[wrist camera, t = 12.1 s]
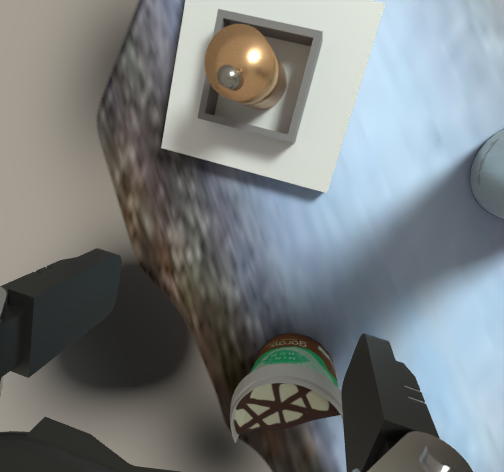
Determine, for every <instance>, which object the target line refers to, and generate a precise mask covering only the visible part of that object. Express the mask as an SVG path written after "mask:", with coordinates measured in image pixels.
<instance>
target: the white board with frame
mask: <svg viewBox="0 0 504 472" xmlns="http://www.w3.org/2000/svg"><path fill="white" fill-rule="evenodd" d="M385 4H386V3H381V2H376V1H371V0H185V6H184V12H183V19H182V25H181V31H180V37H179V43H178V49H177V55H176V61H175V67H174V73H173V79H172V85H171V91H170V98H169V104H168V110H167V116H166V122H165V128H164V134H163V140H162V146H161V148H163V149H167V150H171V151H174V152H178V153H182V154H185V155H189V156H193V157H196V158H200V159H204V160H207V161H211V162H215V163H218V164H222V165H226V166H229V167H233V168H237V169H240V170H244V171H248V172H251V173H255V174H259V175H262V176H266V177H270V178H273V179H277V180H281V181H284V182H288V183H292V184H295V185H299V186H303V187H306V188H310V189H314V190H317V191H321V192H325V193H327V191H328V188H329V185H330V181H331V178H332V175H333V172H334V169H335V165H336V162H337V159H338V156H339V152H340V149H341V146H342V143H343V140H344V136H345V133H346V130H347V127H348V123H349V120H350V117H351V114H352V111H353V107H354V104H355V101H356V98H357V94H358V91H359V88H360V85H361V82H362V78H363V75H364V72H365V69H366V65H367V62H368V59H369V56H370V53H371V49H372V46H373V43H374V40H375V36H376V33H377V30H378V27H379V24H380V20H381V17H382V14H383V11H384V7H385ZM233 24H245V25H249V26H251V27H254V28H255V29H257V30H258V31H259V32H260V33H261V34H262V35H263V36H264V37H265V39H266V40H267V42H268V43H269V45H270V46H271V48H272V50H273V51H274V53H275V54H276V56H277V57H278V59H279V60H280V62H281V63H282V65H283V67H284V69H285V72H286V76H287V85H286V90H285V92H284V95H283V96H282V98H281V99H280V101H279V102H278V103H277V104H275V105H274V106H272V107H270V108H268V109H263V110H257V109H253V108H250V107H248V106H245V105H243V104H240V103H238V102H235V101H233V100H230V99H228V98H226V97H223V96H222V95H220V94H219V93H218V92H216V91H215V90H214V89H213V87H212V86H211V84H210V83H209V81H208V78H207V76H206V72H205V62H204V61H205V54H206V50H207V47H208V45H209V43H210V41H211V40H212V38H213V37H214V36H215V34H217V33H218V32H219V31H220V30H221V29H223V28H225V27H227V26H229V25H233Z"/></svg>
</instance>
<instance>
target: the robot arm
mask: <svg viewBox="0 0 504 472" xmlns="http://www.w3.org/2000/svg"><path fill="white" fill-rule="evenodd" d="M470 182H471V188H472V192H473V194H474V196H475V199H476V200H477V201H478V203H479V204H480V205H481V206H482V207H483V208H484V209H485V210H487V211H488V212H489V213H491V214H493V215H495V216H497V217H499V218H502V219H504V129H503V130H501V131H499V132H497V133H496V134H495V135H493V136H492V137H491V138H490V139H489V140H487V141H486V143H485V144H484V145H483V146H482V147H481V149H480V150H479V152H478V153H477V155H476V157H475V159H474V161H473V165H472V168H471V175H470ZM121 263H122V261H121V257H120V255H117V254H114V253H111V252H108V251H104V250H101V249H94V250H92V251H90V252H88V253H85V254H83V255H81V256H79V257H76V258H70V259H65V260H60V261H58V262H55V263H53V264H51V265H48V266H47V268H46V267H44V268H41V269H39V270H37V271H36V272H32V273H30V274H28V275H25V276H23V277H21V278H19V279H16V280H14V281H12V282H9V283H7V284H5V285H2V286H0V395H1V390H2V386H3V376H4V375H5V374H7V373H8V372H9V371H12V372H15V373H17V374H20V375H22V376H25V377H28V378H29V377H30V376H31V375H33V374H34V373H35V372H37V371H38V370H39V369H40V368H42V367H43V366H44V365H45V364H47V363H48V362H49V361H51V360H52V359H53V358H54V357H56V356H57V355H58V354H59V353H61V352H62V351H63V350H65V349H66V348H67V347H68V346H69V345H71V344H72V343H73V342H74V341H76V340H77V339H78V338H80V337H81V336H82V335H84V334H85V333H86V332H87V331H89V330H90V329H91V328H92V327H94V326H95V325H96V324H97V323H99V322H100V321H101V320H103V319H104V318H105V317H106V316H107V315H108V314H109V313H110V312H111V310H112V309H113V307H114V304H115V302H116V298H117V291H118V284H119V278H120V271H121ZM341 398H342V412H343V425H344V439H345V452H346V466H347V472H473V471H472V469H471V467H470V466H469V464H468V463H467V462H466V460H465V459H464V458H463V457H462V456H461V455H460V454H459V453H458V452H457V451H456V450H455V449H454V448H452V447H451V446H450V445H449V444H447V443H446V442H444V441H443V440H441V439H440V438H439V436H438V433H437V431H436V428H435V426H434V423H433V421H432V418H431V416H430V413H429V411H428V408H427V406H426V404H424V402H425V401H424V398H423V396H422V393H421V392H420V388H419V385H418V383H417V380H416V378H415V376H414V375H413V374H412V373H411V372H410V370H409V369H408V368H407V367H406V366H405V365H404V363H401V362H398V361H396V360H395V357H394V354H393V352H392V349H391V346H390V343H389V341H386V340H383V339H380V338H377V337H374V336H371V335H367V334H362V335H361V337H360V339H359V341H358V343H357V346H356V349H355V351H354V354H353V356H352V359H351V362H350V364H349V367H348V369H347V372H346V375H345V378H344V381H343V386H342V394H341ZM0 472H178V471H170V470H162V469H154V468H146V467H137V466H133V465H131V464H129V463H127V462H126V461H125V460H123V459H122V458H121V457H119V456H118V455H117V454H115V453H114V452H113V451H112V450H110V449H109V448H108V447H106V446H105V445H104V444H102V443H101V442H100V441H99V440H97V439H96V438H95V437H93V436H92V435H91V434H88V433H86V432H83V431H80V430H78V429H75V428H73V427H70V426H68V425H65V424H62V423H60V422H57V421H55V420H52V419H50V418H47V417H44V418H43V419H42V420H41V421H40V422H39V423H38V424H37V425H36V426H35V427H34V428H33V429H32V430H31V431H30V432H11V431H10V432H0Z"/></svg>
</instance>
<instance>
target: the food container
mask: <svg viewBox="0 0 504 472" xmlns="http://www.w3.org/2000/svg"><path fill="white" fill-rule="evenodd" d="M341 394H342V392H341V390H340V389H339V388H338V383H337V379H336V374H335V370H334V366H333V361H332V359H331V357H330V355H329V353H328V352H327V351H326V350H325V349H324V348H323V347H322V345H321V344H320V343H318V342H316V341H315V340H313V339H311V338H310V337H307V336H303V335H300V334H282V335H279V336H276V337H274V338H272V339H270V340H269V341H268V342H267V343H266V344H265V345H264V346H263V348H262V349H261V351H260V353H259V355H258V357H257V359H256V362H255V364H254V366H253V368H252V370H251V372H250V374H248V375H247V376H246V377H244V378H243V380H242V381H241V382H240V383H239V384H238V386H237V388H236V389H235V391H234V394H233V397H232V401H231V409H230V425H231V431H232V436H233V439H234V442H235V443H236V441H237V439H238V436H239V435H240V434H246V433H249V432H253V431H259V430H266V429H281V428H289V427H292V426H296V425H299V424H302V423H305V422H308V421H312V420H316V419H321V418H326V417H331V416H337V415H341V416H342V418H343V412H342V398H341Z"/></svg>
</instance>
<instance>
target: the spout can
mask: <svg viewBox="0 0 504 472" xmlns="http://www.w3.org/2000/svg"><path fill="white" fill-rule="evenodd" d="M204 62H205V72H206V76H207V78H208V81H209V83H210V84H211V86H212V87H213V89H214V90H215V91H216V92H218V93H219V94H220V95H222V96H223V97H226V98H228V99H230V100H233V101H235V102H238V103H240V104H243V105H245V106H248V107H250V108H253V109H257V110H263V109H268V108H270V107H272V106H274V105H275V104H277V103H278V102H279V101H280V99H281V98H282V96H283V95H284V92H285V90H286V85H287V76H286V72H285V69H284V67H283V65H282V63H281V62H280V60H279V59H278V57H277V56H276V54H275V53H274V51H273V50H272V48H271V46H270V45H269V43H268V42H267V40H266V39H265V37H264V36H263V35H262V34H261V33H260V32H259V31H258V30H257V29H255V28H254V27H251V26H249V25H245V24H233V25H229V26H227V27H225V28H223V29H221V30H220V31H219V32H218V33H217V34H215V36H214V37H213V38H212V40H211V41H210V43H209V45H208V47H207V50H206V54H205V61H204Z"/></svg>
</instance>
